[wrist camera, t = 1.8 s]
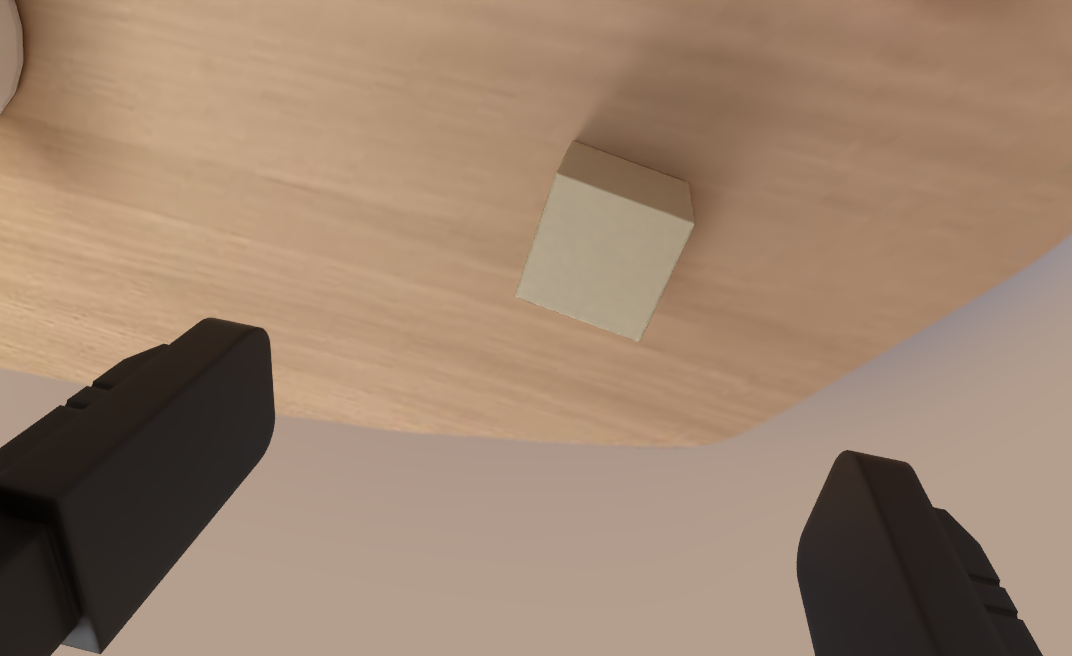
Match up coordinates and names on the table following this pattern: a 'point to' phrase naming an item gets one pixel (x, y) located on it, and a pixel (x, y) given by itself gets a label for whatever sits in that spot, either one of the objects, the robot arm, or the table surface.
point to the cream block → (607, 241)
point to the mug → (9, 50)
